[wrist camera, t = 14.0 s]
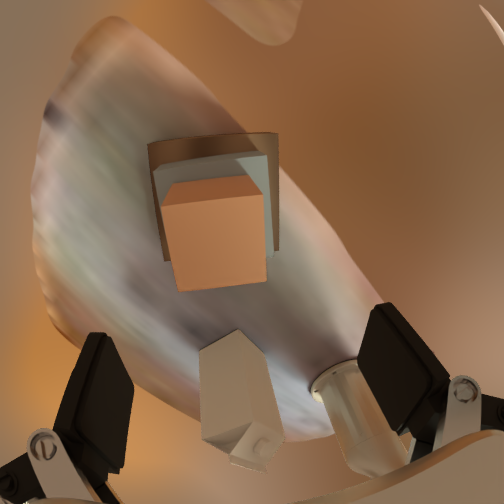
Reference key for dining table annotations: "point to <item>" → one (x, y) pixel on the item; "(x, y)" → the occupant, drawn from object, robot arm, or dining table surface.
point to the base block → (211, 147)
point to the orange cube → (215, 232)
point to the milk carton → (239, 402)
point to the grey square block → (216, 168)
